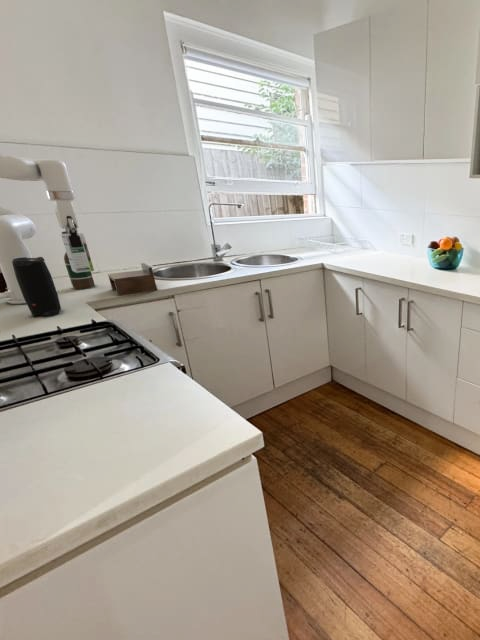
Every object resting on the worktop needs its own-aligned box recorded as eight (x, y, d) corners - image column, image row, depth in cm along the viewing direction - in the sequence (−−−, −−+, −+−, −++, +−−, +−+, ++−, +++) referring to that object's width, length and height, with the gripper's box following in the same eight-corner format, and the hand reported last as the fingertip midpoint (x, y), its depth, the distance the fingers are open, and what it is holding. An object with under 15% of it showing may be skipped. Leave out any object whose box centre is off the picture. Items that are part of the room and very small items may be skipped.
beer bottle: (99, 286, 172) (83, 231, 162) (81, 290, 165) (63, 233, 156) (86, 284, 173) (69, 230, 164) (68, 288, 166) (49, 232, 157)
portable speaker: (44, 318, 130) (23, 261, 122) (23, 316, 132) (1, 259, 124) (70, 311, 138) (51, 257, 130) (50, 309, 140) (31, 255, 132)
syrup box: (76, 273, 148) (64, 234, 142) (71, 270, 151) (60, 233, 145) (94, 271, 152) (84, 233, 146) (89, 268, 155) (79, 232, 150)
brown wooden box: (118, 295, 158) (112, 271, 154) (112, 289, 166) (105, 266, 163) (157, 290, 167) (151, 267, 164) (149, 284, 176) (144, 263, 172)
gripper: (45, 195, 144) (60, 243, 151) (50, 197, 133) (66, 249, 140) (71, 195, 149) (84, 242, 156) (77, 197, 138) (91, 247, 145)
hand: (75, 245), depth 148 cm, fingers closed on syrup box, 6 cm apart
